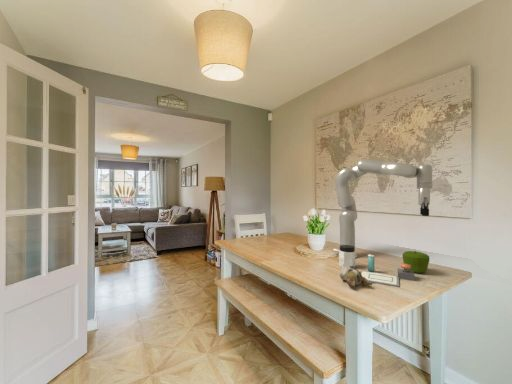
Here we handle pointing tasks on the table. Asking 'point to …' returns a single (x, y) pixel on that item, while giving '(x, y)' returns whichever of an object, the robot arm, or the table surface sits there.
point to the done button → (406, 267)
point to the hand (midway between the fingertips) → (424, 215)
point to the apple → (416, 261)
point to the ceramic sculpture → (353, 276)
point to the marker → (371, 263)
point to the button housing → (406, 274)
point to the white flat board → (381, 278)
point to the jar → (347, 255)
